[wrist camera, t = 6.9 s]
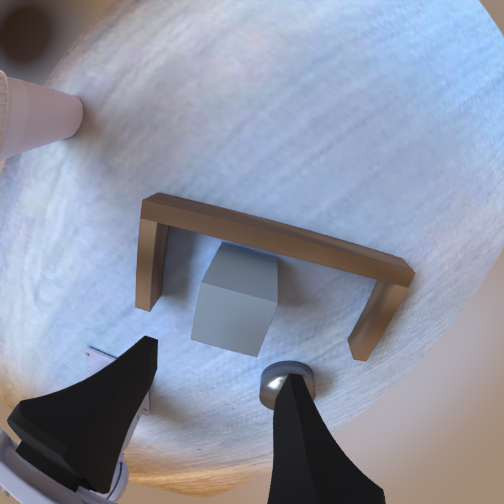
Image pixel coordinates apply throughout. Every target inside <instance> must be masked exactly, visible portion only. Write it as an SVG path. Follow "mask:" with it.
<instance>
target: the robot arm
mask: <svg viewBox="0 0 504 504" xmlns="http://www.w3.org/2000/svg"><path fill="white" fill-rule="evenodd" d="M84 351H85V355H86V360H87V364H88V370H87V371H86V373H85V374H84V375H83V377H82V378H81V380H80V381H79V382H78V383H76V384H74V385H72V386H70V387H67V388H65V389H63V390H60V391H57V392H54V393H51V394H48V395H45V396H41V397H37V398H32V399H27V400H22V401H20V403H19V404H18V405H17V406H16V407H15V409H14V410H13V412H12V413H11V415H10V416H9V417H8V419H7V422H8V424H9V426H10V427H11V428H12V429H13V431H14V432H15V433H16V434H17V435H18V436H19V438H20V439H21V442H20V444H19V445H17V444H16V443H15V442H14V441H13V440H12V439H11V438H10V437H9V436H8V434H7V433H6V432H4V430H2V429H1V428H0V485H1V486H2V487H3V488H4V489H5V490H6V491H8V492H9V493H10V494H11V495H12V496H13V497H14V498H16V499H17V500H18V501H19V502H20V503H21V504H117V503H116V502H117V501H118V500H119V499H120V498H121V496H122V495H123V493H124V491H125V489H126V486H127V483H128V478H129V472H128V469H127V465H126V463H125V462H124V461H122V459H123V457H124V453H123V451H124V450H125V449H126V448H127V446H128V444H129V442H130V440H131V437H132V435H133V433H134V430H135V428H136V426H137V423H138V421H139V419H140V416H141V414H144V415H147V416H148V415H149V414H150V404H149V388H150V386H151V384H152V381H153V379H154V376H155V373H156V371H157V353H158V340H157V339H154V338H151V337H148V336H144V337H142V338H141V339H140V340H139V341H138V342H137V343H135V344H134V345H133V346H132V347H131V348H130V349H128V350H127V351H126V352H125V353H123V354H122V355H121V356H119V357H118V358H117V359H116V358H113V357H111V356H109V355H106V354H104V353H102V352H99V351H97V350H95V349H93V348H91V347H88V346H86V347H85V348H84ZM273 453H274V457H273V470H272V478H271V485H270V492H269V498H268V503H267V504H386V503H385V496H384V492H383V489H382V488H380V487H379V486H378V485H376V484H375V483H374V482H373V481H371V480H370V479H369V478H368V477H367V476H365V475H364V474H363V473H362V472H361V471H360V470H359V469H358V468H357V467H356V466H355V465H354V464H353V462H352V461H351V460H350V459H349V458H348V457H347V456H346V455H345V453H344V452H343V451H342V449H341V448H340V447H339V445H338V444H337V443H336V441H335V440H334V438H333V437H332V435H331V434H330V432H329V430H328V429H327V427H326V425H325V423H324V422H323V420H322V418H321V416H320V414H319V412H318V410H317V408H316V406H315V404H314V402H313V399H312V397H311V395H310V393H309V390H308V388H307V385H306V383H305V381H304V378H303V376H302V375H298V374H292V373H289V374H288V376H287V378H286V380H285V382H284V384H283V386H282V387H281V389H280V391H279V393H278V395H277V397H276V399H275V406H274V415H273Z"/></svg>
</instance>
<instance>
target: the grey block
mask: <svg viewBox="0 0 504 504" xmlns="http://www.w3.org/2000/svg"><path fill="white" fill-rule="evenodd" d="M277 304H278V257H276V256H272V255H269V254H265V253H261V252H258V251H254V250H250V249H247V248H243V247H239V246H236V245H232V244H228V243H225V242H222V243H221V245H220V247H219V249H218V251H217V253H216V254H215V256H214V258H213V260H212V262H211V264H210V266H209V268H208V270H207V272H206V273H205V275H204V277H203V279H202V281H201V285H200V290H199V295H198V301H197V306H196V311H195V317H194V323H193V328H192V334H191V340H195V341H198V342H201V343H205V344H208V345H212V346H215V347H219V348H223V349H226V350H230V351H234V352H238V353H242V354H246V355H250V356H254V357H257V356H258V354H259V351H260V348H261V346H262V343H263V341H264V338H265V336H266V333H267V331H268V328H269V325H270V323H271V320H272V317H273V315H274V312H275V310H276V307H277Z"/></svg>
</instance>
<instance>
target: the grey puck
mask: <svg viewBox="0 0 504 504" xmlns="http://www.w3.org/2000/svg"><path fill="white" fill-rule="evenodd" d="M289 373H292V374H298V375H302V376H303V378H304V381H305V383H306V385H307V388H308V390H309V393H310V395H311V397H312V399H313V401H314V399H315V395H316V394H315V385H314V376H313V372H312V370H311V369H310V368H309V367H308V366H307V365H305V364H303V363H301V362H297V361H281V362H277V363H274V364H272V365H270V366H268V367H267V368H266V369H265V370H264V371H263V372H262V375H261V383H260V395H259V398H260V401H261V403H262V404H263V405H264V406H265V407H267V408H269V409H271V410H274V406H275V399H276V397H277V395H278V393H279V391H280V389H281V387H282V386H283V384H284V382H285V380H286V378H287V376H288V374H289Z"/></svg>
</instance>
